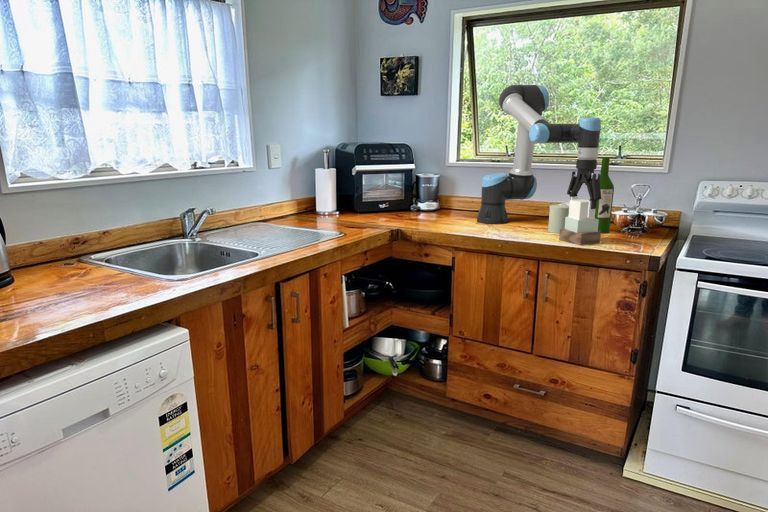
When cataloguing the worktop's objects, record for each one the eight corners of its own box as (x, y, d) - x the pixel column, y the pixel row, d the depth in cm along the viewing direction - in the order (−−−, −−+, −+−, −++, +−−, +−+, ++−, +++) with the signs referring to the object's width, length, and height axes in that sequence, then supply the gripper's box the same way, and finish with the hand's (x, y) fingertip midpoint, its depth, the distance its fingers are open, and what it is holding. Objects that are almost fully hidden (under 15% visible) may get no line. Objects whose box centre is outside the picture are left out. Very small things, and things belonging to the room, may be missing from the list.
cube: (568, 216, 200) (570, 199, 199) (583, 216, 202) (585, 199, 200) (579, 219, 194) (580, 202, 192) (594, 219, 195) (596, 201, 194)
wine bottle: (594, 233, 214) (602, 158, 207) (583, 230, 223) (590, 157, 215) (613, 233, 216) (622, 157, 208) (601, 229, 224) (609, 156, 216)
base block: (558, 241, 202) (559, 229, 201) (577, 238, 207) (578, 226, 206) (580, 246, 193) (581, 233, 192) (599, 243, 198) (601, 231, 197)
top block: (564, 228, 202) (565, 216, 201) (584, 227, 204) (585, 215, 203) (577, 232, 194) (578, 220, 193) (597, 231, 196) (598, 219, 194)
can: (570, 234, 214) (573, 206, 212) (548, 233, 216) (551, 206, 213) (567, 230, 223) (570, 203, 220) (546, 229, 225) (548, 203, 222)
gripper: (560, 157, 202) (556, 211, 207) (598, 160, 180) (592, 220, 186) (576, 157, 204) (571, 210, 209) (615, 160, 182) (609, 219, 188)
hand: (581, 214), depth 197 cm, fingers open, 10 cm apart
